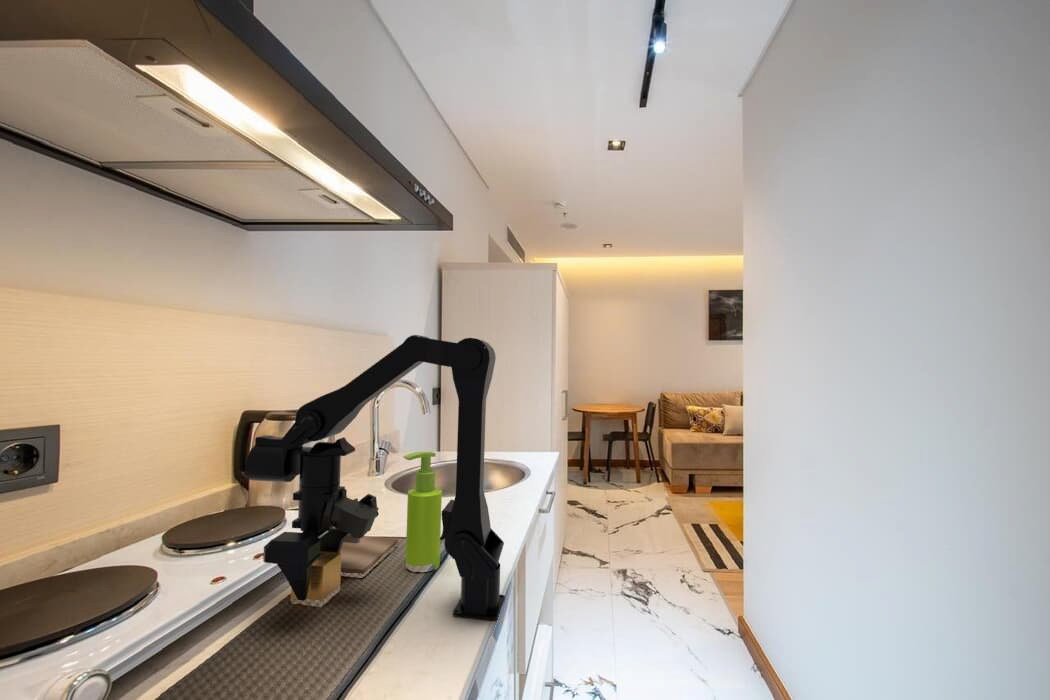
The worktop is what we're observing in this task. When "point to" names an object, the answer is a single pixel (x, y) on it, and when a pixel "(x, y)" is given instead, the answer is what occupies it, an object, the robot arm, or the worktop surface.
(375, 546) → the dock
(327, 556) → the block
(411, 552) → the soap dispenser
